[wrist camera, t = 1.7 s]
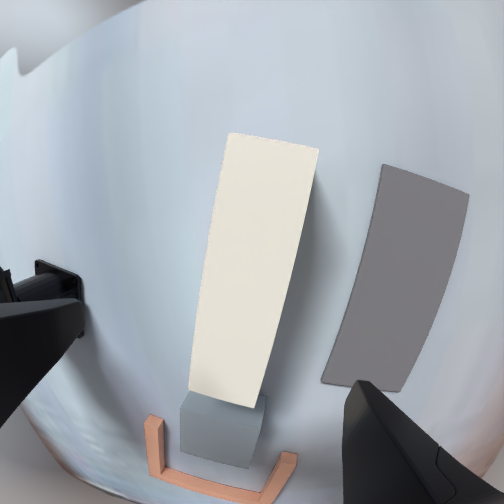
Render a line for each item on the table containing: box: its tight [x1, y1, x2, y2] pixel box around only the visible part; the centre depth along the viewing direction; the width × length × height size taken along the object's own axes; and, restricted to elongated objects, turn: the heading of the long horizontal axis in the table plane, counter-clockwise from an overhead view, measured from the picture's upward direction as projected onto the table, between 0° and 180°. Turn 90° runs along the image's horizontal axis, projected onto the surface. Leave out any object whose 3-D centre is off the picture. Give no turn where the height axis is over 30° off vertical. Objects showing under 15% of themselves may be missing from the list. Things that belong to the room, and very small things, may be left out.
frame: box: [144, 414, 297, 504], centre depth 24 cm, size 15×12×2 cm
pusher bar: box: [188, 132, 319, 408], centre depth 16 cm, size 4×14×6 cm, turn 168°
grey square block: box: [180, 391, 267, 469], centre depth 20 cm, size 6×6×4 cm
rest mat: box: [321, 164, 469, 392], centre depth 18 cm, size 7×16×1 cm, turn 169°
